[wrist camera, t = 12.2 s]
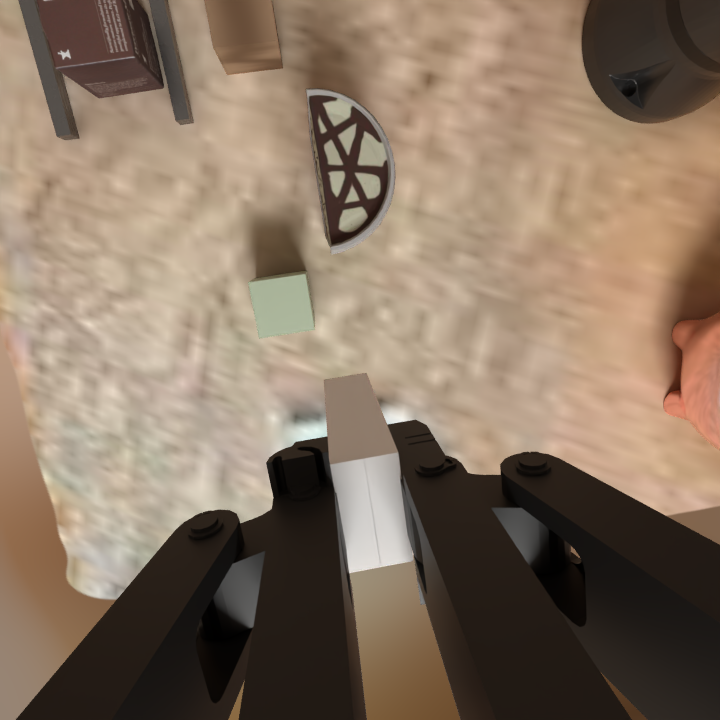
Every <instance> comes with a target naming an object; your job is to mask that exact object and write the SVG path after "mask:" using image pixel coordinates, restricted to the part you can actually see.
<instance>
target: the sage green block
mask: <svg viewBox="0 0 720 720" xmlns="http://www.w3.org/2000/svg"><path fill="white" fill-rule="evenodd" d="M248 284H249V289H250V294H251V300H252V305H253V310H254V315H255V320H256V325H257V330H258V335H259V339H260V338H266V337H272V336H279V335H285V334H292V333H298V332H305V331H311V330H315V319H314V313H313V307H312V301H311V295H310V289H309V282H308V276H307V271H300V272H293V273H287V274H280V275H273V276H266V277H260V278H255V279H254V280H252V281H250V282H248Z"/></svg>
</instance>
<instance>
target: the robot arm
mask: <svg viewBox="0 0 720 720" xmlns="http://www.w3.org/2000/svg"><path fill="white" fill-rule="evenodd" d="M582 47H583V58H584V64H585V68H586V72H587V75H588V78H589V81H590V83H591V85H592V87H593V89H594V91H595V92H596V94H597V95H598V97H599V98H600V99H601V101H602V102H603V103H604V104H605V105H606V106H607V107H608V108H609V109H610V110H612V111H613V112H614V113H616V114H617V115H619V116H621V117H623V118H625V119H628V120H630V121H634V122H638V123H660V122H665V121H669V120H672V119H674V118H677V117H680V116H683V115H686V114H688V113H691V112H693V111H695V110H697V109H699V108H700V107H702V106H704V105H705V104H707V103H708V102H710V101H711V100H712V99H714V98H715V97H716V96H717V95H718V94H719V93H720V0H591V3H590V5H589V8H588V11H587V14H586V18H585V23H584V29H583V45H582ZM324 391H325V406H326V420H327V435H328V436H327V437H322V438H316V439H310V440H304V441H299V442H295V443H294V445H293V446H292V447H288V448H285V449H283V450H281V451H278V452H277V453H275V454H274V455H272V456H271V457H270V458H269V459H268V461H267V463H266V464H267V469H268V474H269V478H270V483H271V488H272V492H273V497H274V498H273V505H272V509H271V510H270V511H268V512H266V513H265V514H263V515H261V516H259V517H257V518H254V519H252V520H249V521H246V522H244V523H241V524H240V521H239V518H238V516H237V514H236V513H234V512H232V511H230V510H215V511H206V512H203V513H200V514H197V515H195V516H194V517H193V518H191V519H189V520H187V521H186V522H184V523H183V524H182V525H181V526H179V527H178V528H177V529H176V530H175V531H174V532H173V534H172V535H171V536H170V537H169V538H168V540H167V541H166V542H165V543H164V544H163V546H162V547H161V548H160V549H159V550H158V551H157V553H156V554H155V555H154V556H153V557H152V559H151V560H150V561H149V562H148V563H147V564H146V566H145V567H144V568H143V569H142V570H141V572H140V573H139V574H138V575H137V576H136V578H135V579H134V580H133V581H132V582H131V583H130V585H129V586H128V587H127V588H126V589H125V591H124V592H123V593H122V594H121V595H120V597H119V598H118V599H117V600H116V601H115V603H114V604H113V605H112V606H111V607H110V608H109V610H108V611H107V612H106V613H105V615H104V616H103V617H102V618H101V619H100V620H99V622H98V623H97V624H96V625H95V626H94V627H93V629H92V630H91V631H90V632H89V633H88V635H87V636H86V637H85V638H84V639H83V641H82V642H81V643H80V644H79V645H78V646H77V648H76V649H75V650H74V651H73V652H72V654H71V655H70V656H69V657H68V658H67V660H66V661H65V662H64V663H63V664H62V665H61V667H60V668H59V669H58V670H57V671H56V673H55V674H54V675H53V676H52V677H51V678H50V680H49V681H48V682H47V683H46V684H45V686H44V687H43V688H42V689H41V690H40V692H39V693H38V694H37V695H36V696H35V697H34V699H33V700H32V701H31V702H30V704H29V705H28V706H27V707H26V708H25V709H24V711H23V712H22V713H21V714H20V715H19V716H18V718H17V719H16V720H228V719H229V716H230V714H231V711H232V709H233V707H234V704H235V702H236V699H237V697H238V694H239V692H240V690H241V687H242V685H243V682H244V680H245V682H244V689H243V695H242V702H241V709H240V714H239V720H367V718H366V709H365V700H364V691H363V682H362V673H361V664H360V656H359V647H358V638H357V629H356V620H355V612H354V602H353V593H352V586H351V580H350V574H349V573H352V572H357V571H362V570H367V569H373V568H378V567H383V566H388V565H394V564H399V563H404V562H410V561H413V556H412V550H413V553H414V558H415V566H416V574H417V581H418V588H419V595H420V603H421V605H422V604H426V607H427V610H428V614H429V617H430V621H431V624H432V627H433V630H434V633H435V637H436V640H437V644H438V647H439V650H440V653H441V656H442V660H443V663H444V667H445V670H446V673H447V676H448V680H449V683H450V686H451V690H452V693H453V696H454V699H455V703H456V706H457V709H458V712H459V716H460V719H461V720H632V719H631V718H630V716H629V715H628V713H627V712H626V710H625V709H624V707H623V706H622V704H621V703H620V701H619V700H618V698H617V697H616V695H615V694H614V692H613V691H612V689H611V688H610V686H609V685H608V683H607V682H606V680H605V679H604V677H603V676H602V674H603V675H604V676H605V677H606V678H607V679H608V680H609V681H610V682H611V683H612V684H613V685H614V686H615V687H616V688H617V689H618V690H619V691H620V692H621V693H622V694H623V695H624V696H625V697H626V698H627V699H628V700H629V701H630V702H631V703H632V704H633V705H634V706H635V707H636V708H637V709H638V710H639V711H640V712H641V713H642V714H643V715H644V716H645V717H646V718H647V719H648V720H720V545H719V544H717V543H715V542H713V541H712V540H710V539H708V538H706V537H704V536H702V535H700V534H699V533H697V532H695V531H693V530H691V529H689V528H687V527H686V526H684V525H682V524H680V523H678V522H676V521H674V520H672V519H671V518H669V517H667V516H665V515H663V514H661V513H660V512H658V511H656V510H654V509H652V508H650V507H648V506H647V505H645V504H643V503H641V502H639V501H637V500H635V499H634V498H632V497H630V496H628V495H626V494H624V493H622V492H621V491H619V490H617V489H615V488H613V487H611V486H609V485H608V484H606V483H604V482H602V481H600V480H598V479H596V478H595V477H593V476H591V475H589V474H587V473H585V472H583V471H582V470H580V469H578V468H576V467H574V466H572V465H570V464H569V463H567V462H565V461H563V460H561V459H559V458H557V457H554V456H551V455H549V454H543V453H539V452H531V453H529V452H523V453H520V454H516V455H512V456H510V457H508V458H506V459H504V461H503V462H502V463H501V464H500V467H501V475H476V474H470V473H467V471H466V470H465V468H464V466H463V465H462V463H460V462H459V461H458V460H457V459H455V458H452V457H449V456H445V454H444V452H443V451H442V449H441V448H440V446H439V444H438V443H437V441H435V438H434V436H433V435H432V434H431V432H430V430H429V428H428V427H427V425H425V424H423V423H421V422H419V421H417V420H412V421H406V422H400V423H394V424H389V425H387V423H386V421H385V418H384V416H383V413H382V411H381V408H380V406H379V403H378V401H377V398H376V396H375V393H374V391H373V388H372V386H371V383H370V381H369V378H368V376H367V373H362V374H356V375H350V376H344V377H338V378H332V379H326V380H324ZM571 546H572V547H573V548H574V549H575V550H576V552H577V553H578V555H579V556H580V558H581V559H580V558H578V557H577V556H576V555H575V554H573V553H572V552H571ZM411 547H412V548H411ZM600 672H601V673H602V674H601V673H600Z"/></svg>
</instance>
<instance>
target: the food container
mask: <svg viewBox="0 0 720 720" xmlns="http://www.w3.org/2000/svg"><path fill="white" fill-rule="evenodd" d="M306 93H307V104H308V117H309V130H310V139H311V146H312V152H313V159H314V165H315V171H316V178H317V184H318V191H319V197H320V203H321V210H322V216H323V223H324V229H325V236H326V239H327V241H328V244H329V246H330V248H331V254H336V253H340V252H343V251H345V250H348V249H350V248H353V247H354V246H356V245H358V244H359V243H361V242H362V241H364V240H365V239H366V238H367V237H368V236H370V235H371V234H372V233H373V232H374V231H375V229H376V228H377V227H378V226H379V225H380V223H381V222H382V220H383V218H384V217H385V215H386V213H387V211H388V208H389V206H390V204H391V201H392V197H393V193H394V187H395V164H394V158H393V153H392V150H391V147H390V144H389V141H388V138H387V137H386V135H385V133H384V131H383V129H382V127H381V126H380V124H379V123H378V121H377V120H376V119H375V117H374V116H373V115H372V114H371V113H370V112H369V111H368V110H367V109H366V108H365V107H364V106H362V105H361V104H360V103H358V102H357V101H355V100H354V99H352V98H350V97H348V96H346V95H344V94H342V93H338V92H335V91H332V90H326V89H319V88H314V89H306Z"/></svg>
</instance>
